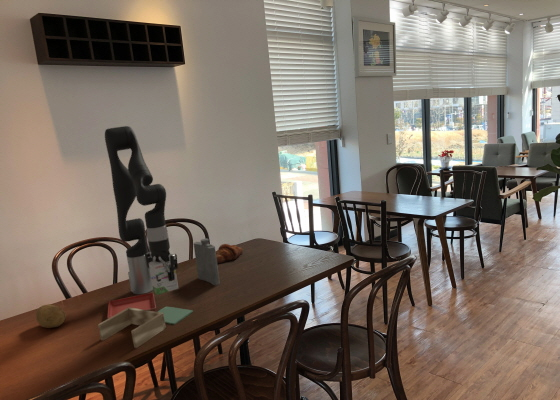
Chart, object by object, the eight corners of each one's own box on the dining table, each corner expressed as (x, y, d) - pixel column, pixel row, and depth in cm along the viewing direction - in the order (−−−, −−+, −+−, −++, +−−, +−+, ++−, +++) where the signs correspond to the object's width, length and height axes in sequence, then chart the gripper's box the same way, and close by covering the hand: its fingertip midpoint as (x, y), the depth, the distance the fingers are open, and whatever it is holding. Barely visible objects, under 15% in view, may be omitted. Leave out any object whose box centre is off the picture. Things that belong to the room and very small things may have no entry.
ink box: (157, 295, 160) (152, 265, 158) (153, 291, 165) (148, 262, 162) (179, 288, 165) (174, 259, 163) (174, 285, 169) (169, 256, 167)
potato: (48, 336, 160) (43, 316, 158) (32, 327, 169) (28, 308, 167) (74, 325, 167) (70, 305, 165) (58, 317, 176) (54, 298, 174)
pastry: (215, 254, 240) (214, 241, 238) (243, 251, 241) (241, 238, 239) (213, 264, 223) (211, 250, 222) (242, 261, 224) (240, 246, 223)
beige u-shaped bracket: (101, 340, 152) (98, 324, 151) (131, 321, 165) (128, 307, 164) (136, 348, 144) (133, 331, 143) (165, 328, 157) (163, 312, 155)
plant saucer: (154, 298, 186) (153, 291, 186) (157, 315, 169) (156, 307, 169) (110, 308, 180) (108, 301, 180) (108, 326, 164) (107, 318, 163)
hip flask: (197, 278, 205) (191, 238, 201) (204, 275, 208) (199, 235, 204) (215, 285, 193) (209, 243, 189) (222, 283, 196) (217, 240, 192)
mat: (146, 319, 165) (146, 318, 165) (166, 307, 175) (166, 306, 175) (174, 324, 159) (174, 323, 159) (193, 311, 168) (193, 310, 168)
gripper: (136, 239, 161) (143, 281, 164) (165, 241, 154) (172, 285, 157) (150, 234, 168) (157, 274, 171) (179, 235, 161) (185, 277, 164)
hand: (164, 279), depth 164 cm, fingers closed on ink box, 6 cm apart
